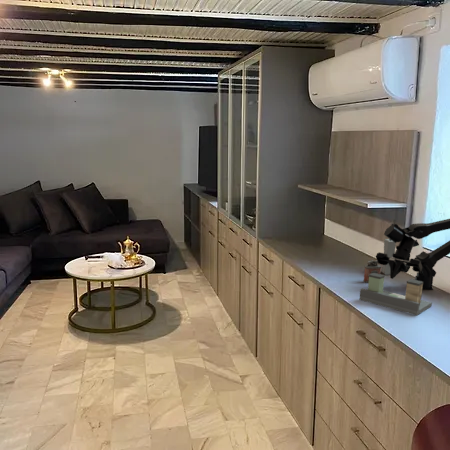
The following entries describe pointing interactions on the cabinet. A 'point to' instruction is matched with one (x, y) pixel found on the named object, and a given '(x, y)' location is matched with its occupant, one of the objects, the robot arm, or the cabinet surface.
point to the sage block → (376, 282)
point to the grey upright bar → (388, 254)
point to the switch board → (394, 301)
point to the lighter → (371, 270)
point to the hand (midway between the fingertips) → (391, 278)
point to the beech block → (414, 290)
